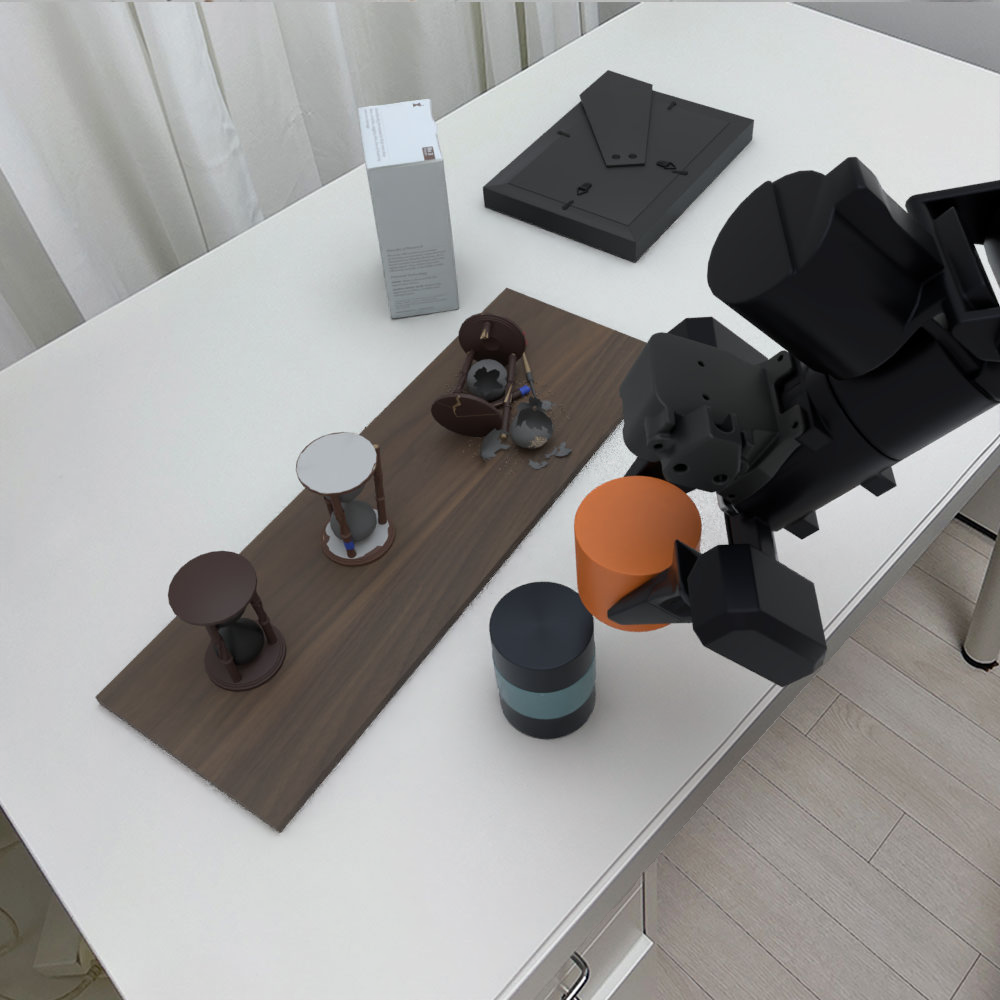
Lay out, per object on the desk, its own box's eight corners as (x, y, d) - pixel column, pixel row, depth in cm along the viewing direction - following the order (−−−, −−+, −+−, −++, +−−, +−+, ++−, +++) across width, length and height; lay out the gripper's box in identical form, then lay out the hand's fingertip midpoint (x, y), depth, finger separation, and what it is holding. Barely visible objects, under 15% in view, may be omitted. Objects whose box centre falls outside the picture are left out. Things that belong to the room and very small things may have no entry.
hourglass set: (671, 360, 85) (676, 272, 78) (280, 832, 63) (241, 765, 56) (507, 295, 91) (499, 208, 85) (99, 703, 69) (46, 629, 63)
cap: (692, 534, 59) (696, 473, 56) (700, 632, 55) (706, 573, 52) (576, 536, 60) (573, 476, 56) (577, 633, 56) (574, 576, 52)
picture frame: (608, 96, 109) (484, 206, 99) (607, 69, 107) (481, 179, 97) (752, 139, 102) (635, 262, 92) (755, 112, 100) (635, 235, 90)
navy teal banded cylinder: (595, 654, 69) (594, 579, 63) (597, 740, 65) (595, 670, 59) (501, 654, 69) (490, 580, 63) (497, 740, 65) (485, 670, 59)
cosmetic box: (382, 261, 95) (351, 104, 84) (451, 250, 96) (430, 92, 84) (392, 324, 90) (360, 166, 78) (465, 312, 90) (444, 153, 79)
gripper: (716, 171, 49) (492, 364, 59) (777, 491, 37) (484, 669, 47) (866, 297, 55) (639, 455, 64) (960, 612, 43) (666, 750, 52)
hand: (609, 565), depth 57 cm, fingers closed on cap, 6 cm apart
